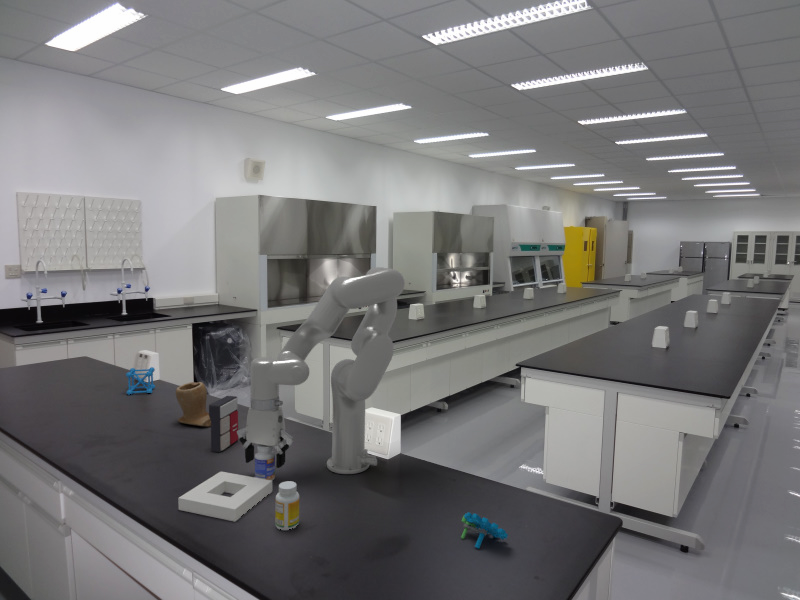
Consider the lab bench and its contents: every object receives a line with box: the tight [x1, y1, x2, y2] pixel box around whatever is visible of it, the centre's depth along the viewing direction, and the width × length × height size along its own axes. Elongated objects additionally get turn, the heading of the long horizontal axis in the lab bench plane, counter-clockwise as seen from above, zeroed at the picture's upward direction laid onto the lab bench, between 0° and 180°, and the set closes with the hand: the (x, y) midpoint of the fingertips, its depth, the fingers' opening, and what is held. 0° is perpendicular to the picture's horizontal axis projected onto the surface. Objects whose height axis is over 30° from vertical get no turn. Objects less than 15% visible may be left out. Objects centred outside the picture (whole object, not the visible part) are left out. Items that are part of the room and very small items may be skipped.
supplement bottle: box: [274, 480, 300, 531], centre depth 118 cm, size 5×5×10 cm
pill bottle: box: [254, 444, 276, 481], centre depth 141 cm, size 5×5×10 cm
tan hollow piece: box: [175, 381, 211, 427], centre depth 184 cm, size 15×12×15 cm
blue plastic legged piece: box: [460, 512, 509, 550], centre depth 112 cm, size 11×6×10 cm
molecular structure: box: [125, 366, 156, 396], centre depth 223 cm, size 10×10×10 cm
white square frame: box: [177, 471, 273, 523], centre depth 129 cm, size 16×16×3 cm
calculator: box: [208, 395, 239, 453], centre depth 164 cm, size 11×4×15 cm, turn 168°
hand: (265, 463), depth 141 cm, fingers open, 9 cm apart
